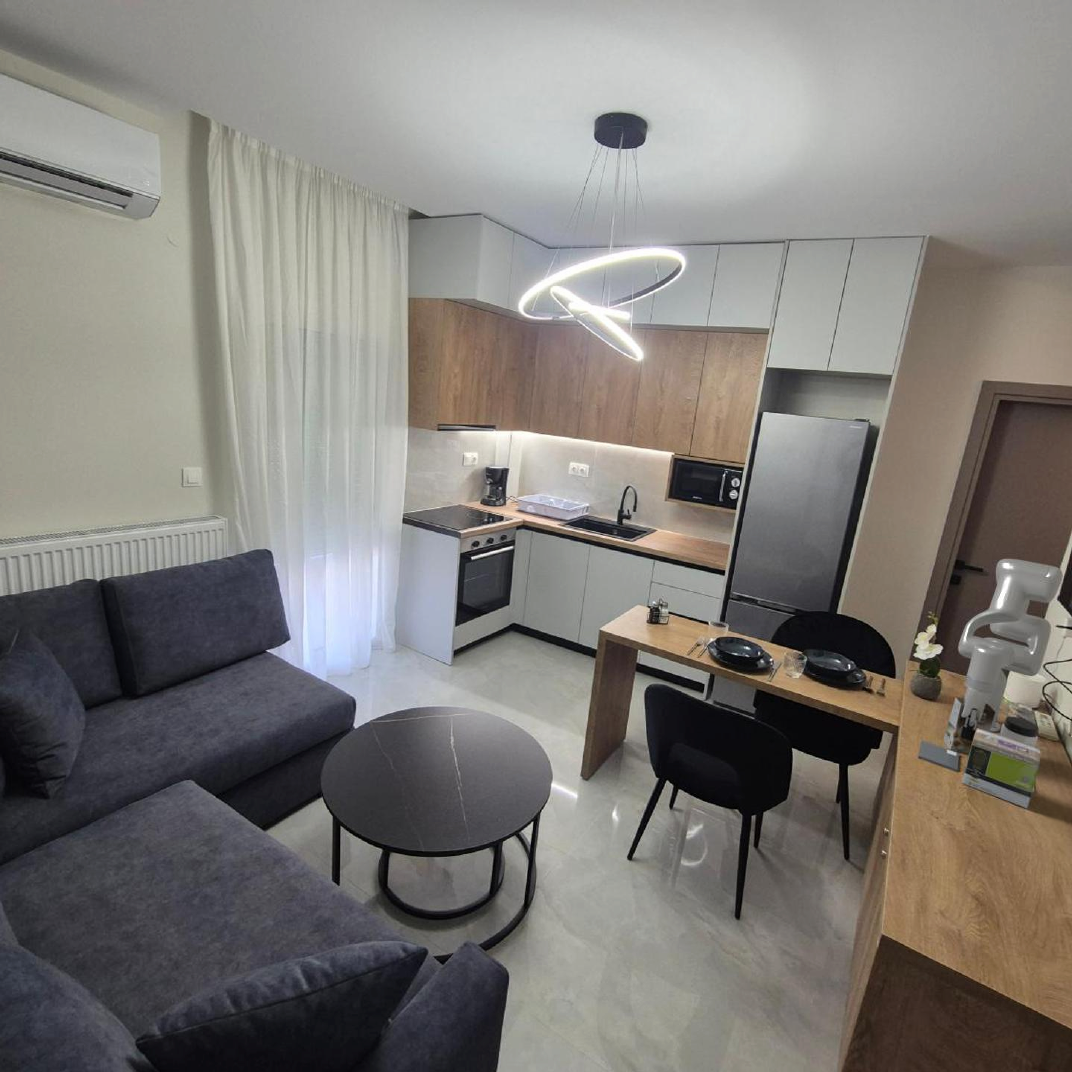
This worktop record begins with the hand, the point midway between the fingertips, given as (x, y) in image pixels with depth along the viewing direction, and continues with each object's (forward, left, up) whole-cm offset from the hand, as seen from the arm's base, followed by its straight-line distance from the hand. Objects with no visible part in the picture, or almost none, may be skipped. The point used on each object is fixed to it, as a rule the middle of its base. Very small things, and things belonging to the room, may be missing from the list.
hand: (966, 733), depth 184 cm
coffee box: (0, 0, -6) cm, 6 cm away
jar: (-7, +13, -6) cm, 16 cm away
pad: (+12, -6, -6) cm, 14 cm away
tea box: (+20, +8, -6) cm, 22 cm away
